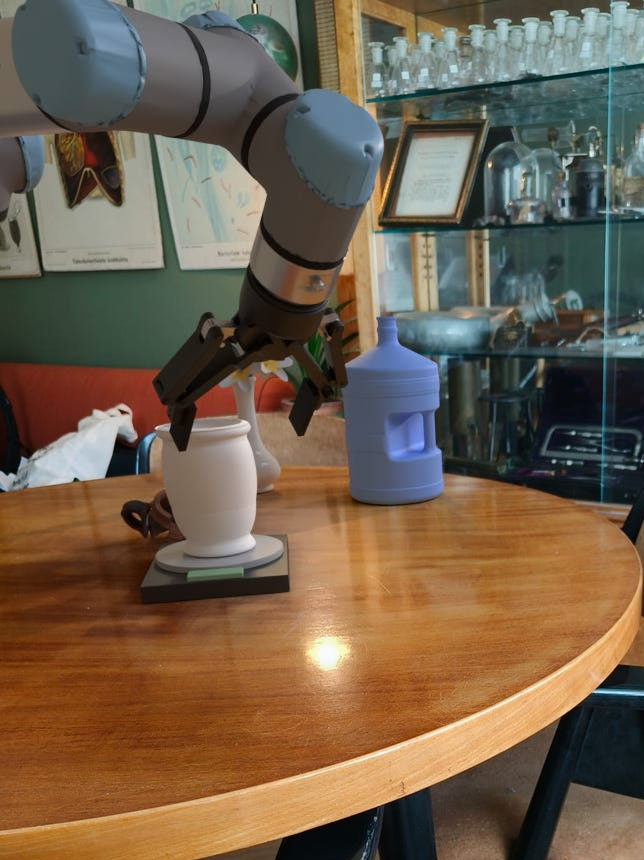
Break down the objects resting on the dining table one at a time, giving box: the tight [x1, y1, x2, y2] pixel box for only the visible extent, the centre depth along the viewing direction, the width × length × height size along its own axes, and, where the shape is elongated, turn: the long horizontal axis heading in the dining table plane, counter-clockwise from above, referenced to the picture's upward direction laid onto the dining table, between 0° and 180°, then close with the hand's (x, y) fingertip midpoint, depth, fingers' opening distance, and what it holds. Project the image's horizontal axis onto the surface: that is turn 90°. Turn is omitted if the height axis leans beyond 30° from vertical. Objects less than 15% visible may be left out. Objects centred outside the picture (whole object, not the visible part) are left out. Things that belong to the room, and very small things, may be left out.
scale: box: [139, 533, 291, 605], centre depth 107 cm, size 16×19×3 cm
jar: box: [154, 418, 258, 557], centre depth 105 cm, size 11×10×15 cm
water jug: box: [340, 315, 445, 506], centre depth 142 cm, size 16×16×28 cm
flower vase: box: [218, 343, 294, 494], centre depth 149 cm, size 13×18×25 cm
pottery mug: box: [120, 488, 186, 543], centre depth 121 cm, size 12×10×8 cm
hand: (239, 433), depth 95 cm, fingers open, 13 cm apart
